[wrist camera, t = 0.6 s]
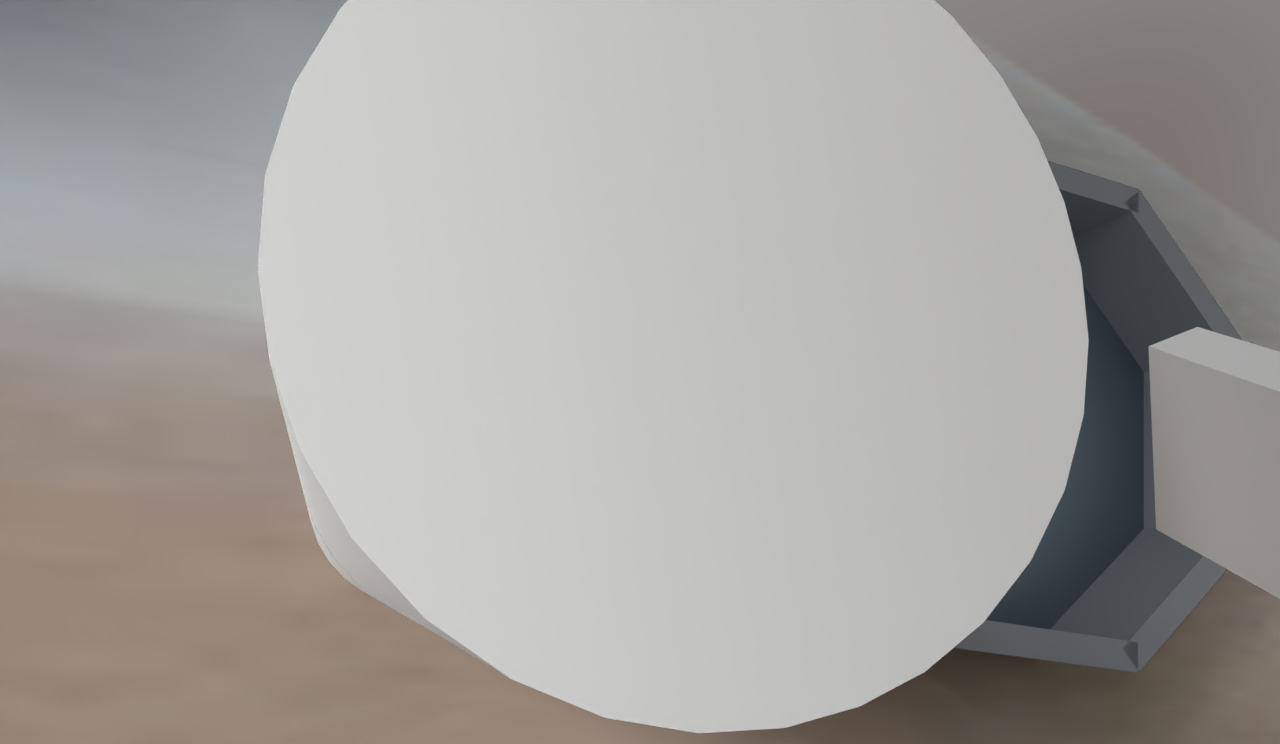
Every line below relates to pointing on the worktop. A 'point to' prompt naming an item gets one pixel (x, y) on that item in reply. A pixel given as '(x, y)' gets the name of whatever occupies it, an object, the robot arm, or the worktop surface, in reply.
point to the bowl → (1112, 455)
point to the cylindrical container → (673, 340)
